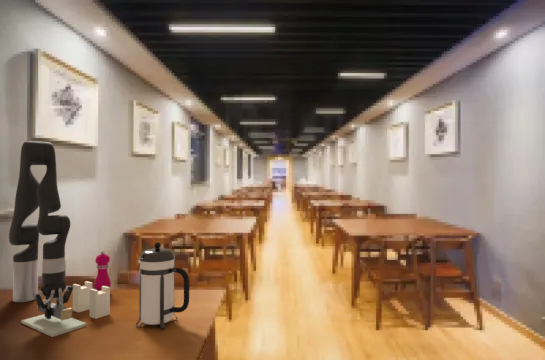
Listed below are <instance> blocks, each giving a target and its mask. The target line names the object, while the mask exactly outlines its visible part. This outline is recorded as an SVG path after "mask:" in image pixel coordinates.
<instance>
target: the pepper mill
mask: <svg viewBox="0 0 545 360" xmlns="http://www.w3.org/2000/svg"><path fill="white" fill-rule="evenodd" d="M110 260H111V258H110V256H109V255H108V254H106V252H105V250H100V254H98V255H96V258H95V263H96V264H97V265H96V269H97V274H96V277H95V280H94V282H93V289H95V290H98V291H101V290H102V286H107V287H110V288H111V286H112V285H111V284H112V281H111V278H110V276H109V272H108V268H109V263H110Z"/></svg>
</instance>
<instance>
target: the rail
mask: <svg viewBox="0 0 545 360" xmlns="http://www.w3.org/2000/svg"><path fill="white" fill-rule="evenodd" d="M42 300H43V302H44V303H45V301H44V299H42ZM50 309H51V316H53V317H56V318H58V319H61V320H62V321H63V320H66V319H70V318H73V316H72V315H73V307H66V306H64V305H63V306H61V305H58V304H57V303H56V302H55V303H54V302H52V303H51V308H50ZM36 312H41V313H43V314H45V309H42V308H39V306H38V305H37V304H36Z"/></svg>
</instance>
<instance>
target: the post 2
mask: <svg viewBox="0 0 545 360" xmlns="http://www.w3.org/2000/svg"><path fill="white" fill-rule="evenodd" d="M110 300H111V286H110V287H107V286H102V290H101V291H98V290H96V289H95V288H92V289H90V309H89V318H92V319H95V320H96V319H99V318H103V317H105V316H109V315H111V312H110V311H111V307H110V306H111V305H110V304H111V301H110Z"/></svg>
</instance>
